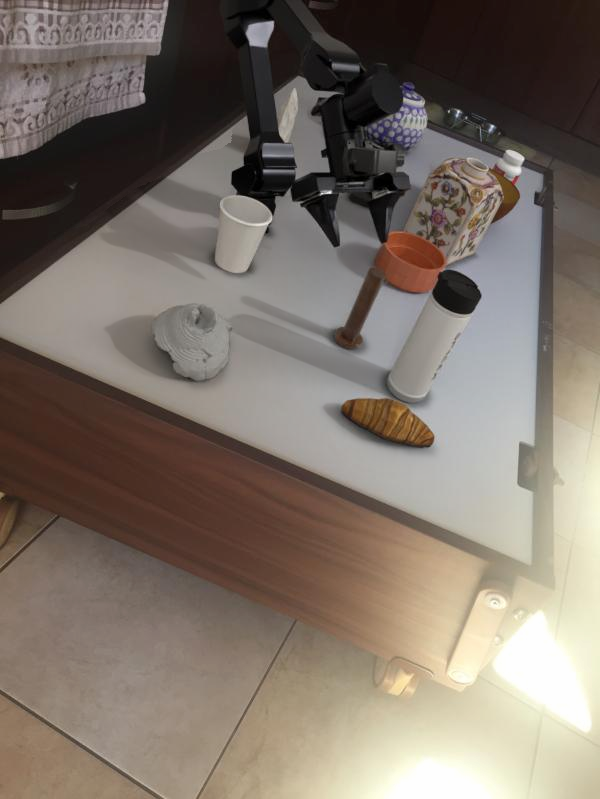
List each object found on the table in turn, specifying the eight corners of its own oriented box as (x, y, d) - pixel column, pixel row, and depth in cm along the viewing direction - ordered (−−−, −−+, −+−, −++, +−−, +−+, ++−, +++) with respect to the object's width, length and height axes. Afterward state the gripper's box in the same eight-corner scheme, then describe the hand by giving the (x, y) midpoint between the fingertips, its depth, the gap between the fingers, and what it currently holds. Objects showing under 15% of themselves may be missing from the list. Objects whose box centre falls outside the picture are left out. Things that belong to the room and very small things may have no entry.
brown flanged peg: (337, 348, 111) (367, 279, 103) (331, 330, 114) (360, 261, 106) (363, 351, 113) (395, 283, 104) (356, 333, 116) (387, 265, 107)
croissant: (334, 428, 98) (347, 402, 95) (343, 397, 103) (355, 372, 100) (427, 464, 98) (443, 440, 95) (431, 432, 104) (446, 407, 100)
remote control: (370, 211, 150) (380, 180, 161) (373, 203, 149) (383, 173, 160) (348, 202, 150) (359, 172, 161) (351, 194, 149) (362, 165, 160)
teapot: (407, 173, 169) (434, 111, 159) (346, 148, 168) (369, 84, 159) (420, 138, 188) (445, 81, 178) (365, 115, 188) (387, 56, 178)
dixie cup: (234, 244, 124) (249, 191, 118) (266, 271, 121) (283, 219, 114) (196, 253, 118) (209, 198, 112) (228, 282, 115) (244, 228, 109)
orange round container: (382, 291, 128) (394, 265, 124) (365, 252, 136) (376, 226, 132) (442, 299, 132) (455, 274, 128) (422, 261, 140) (434, 237, 136)
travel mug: (380, 371, 110) (435, 261, 98) (420, 378, 112) (479, 271, 99) (387, 399, 106) (445, 288, 93) (428, 406, 108) (491, 299, 95)
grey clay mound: (234, 393, 101) (258, 353, 92) (149, 391, 96) (166, 348, 88) (223, 321, 106) (245, 276, 98) (142, 315, 101) (157, 268, 93)
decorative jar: (399, 234, 145) (437, 151, 133) (430, 224, 153) (468, 144, 141) (445, 268, 141) (488, 184, 129) (475, 255, 148) (518, 175, 137)
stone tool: (272, 166, 150) (293, 95, 140) (259, 159, 150) (280, 88, 141) (289, 155, 156) (311, 86, 147) (277, 148, 157) (297, 79, 147)
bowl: (481, 254, 150) (505, 211, 143) (409, 212, 154) (429, 169, 147) (507, 229, 163) (530, 189, 156) (440, 191, 167) (459, 151, 160)
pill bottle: (489, 203, 170) (512, 160, 163) (476, 189, 174) (497, 146, 167) (509, 205, 173) (532, 162, 166) (495, 191, 177) (518, 149, 170)
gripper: (327, 116, 95) (346, 237, 96) (428, 121, 105) (444, 229, 107) (280, 143, 104) (298, 253, 105) (377, 145, 115) (393, 245, 116)
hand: (361, 244), depth 108 cm, fingers open, 9 cm apart
